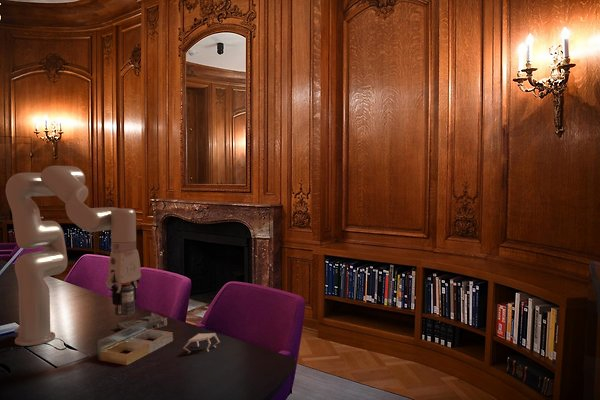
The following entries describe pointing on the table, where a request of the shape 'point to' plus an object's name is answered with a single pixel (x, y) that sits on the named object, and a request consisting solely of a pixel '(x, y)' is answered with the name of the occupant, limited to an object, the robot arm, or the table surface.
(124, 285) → the pill bottle
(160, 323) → the graphics card
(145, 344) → the two-compartment cubby organizer
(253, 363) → the table surface
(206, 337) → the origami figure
